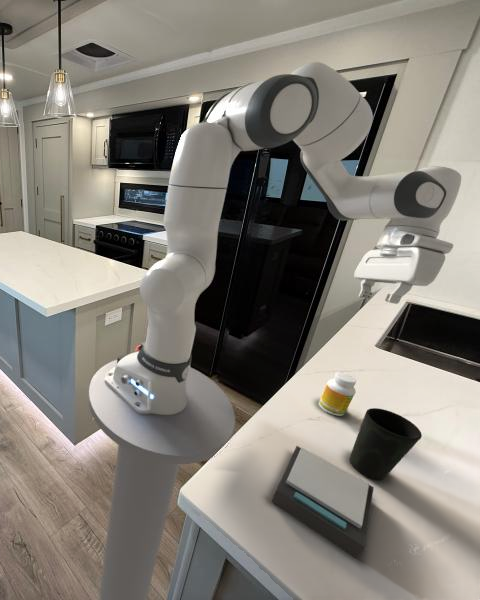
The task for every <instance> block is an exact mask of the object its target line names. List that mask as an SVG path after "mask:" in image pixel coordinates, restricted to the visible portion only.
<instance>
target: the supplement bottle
mask: <svg viewBox="0 0 480 600" xmlns="http://www.w3.org/2000/svg"><path fill="white" fill-rule="evenodd" d="M356 383H357V379H356V378H355V377H354V376H352V375H350V374H349V373H345V372H341V371H340V372H336V373H335V374H334V376H333V378H331V379H329V380H328V381H327V383H326V385H325V387H324V390H323V391H322V394H321V396H320V398H319V400H318V405H319V407H320V408H321V409H322V410H323V411H324V412H326V413H328V414H330V415H333V416H338V417H342V416H344V415H345V414H346V413H347V410H348V409H349V406H350V404H351V402H352V400H353V398H354V397H355V395H356V391H357V390H356V389H355V385H356Z"/></svg>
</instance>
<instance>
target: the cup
mask: <svg viewBox="0 0 480 600" xmlns="http://www.w3.org/2000/svg"><path fill="white" fill-rule="evenodd" d="M422 436H423V435H422V432H421V430H420V429H419V427H417V425H415V424H414V423H413V422H412V421H410V420H409V419H407V418H405V417H404V416H402V415H400V414H398V413H396V412H393V411H391V410H387V409H384V408H377V407H373V408H372V407H371V408H368V409H367V410H366V411H365V414H364V417H363V419H362V422H361V424H360V428H359V430H358V433H357V435H356V439H355V442H354V444H353V447H352V449H351V453H350V455H349V458H348V460H349V463H350V465H351V467H353V469H354V470H355V471H357V472H358V473H359V474H361V475H363V476H364V477H366V478H369V479H370V480H375V481H383V480H384V479H385V478H386V477H388V475H389V474H390V473H391V472H392V470H393V469H395V467H396V466H397V465H398V464H399V463H400V462H401V461H402V459H403V458H404V457H405V456H406V455H407V454H409V452H410V451H411V449H412V448H414V447H415V445H416V444H417V443H418V442H419V441H420V440H421V438H422Z"/></svg>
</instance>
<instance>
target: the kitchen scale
mask: <svg viewBox="0 0 480 600" xmlns="http://www.w3.org/2000/svg"><path fill="white" fill-rule="evenodd" d="M373 495H374V486H372V485H371V484H370V483H369V482H367V481H365V480H363V479H361V478H359V477H357V476H356V475H354V474H352V473H350V472H348V471H346V470H344V469H343V468H340V467H339V466H337V465H335V464H333V463H332V462H330V461H328V460H326V459H324V458H322V457H321V456H318V455H316V454H315V453H313V452H310V451H309V450H307V449H306V448H303V447H300V446H298V445H296V446H295V448H294V451H293V452H292V455H291V457H290V459H289V461H288V463H287V466H286V468H285V470H284V472H283V474H282V476H281V478H280V481H279V483H278V485H277V487H276V489H275V491H274V494H273V496H272V498H271V501H270V502H271V503H273V504H275V506H278V507H279V508H280V509H282V510H284V511H285V512H287V513H288V514H290V515H291V516H292V517H294V518H296V519H297V520H299V521H300V522H302V524H304V525H306V526H307V527H309V528H310V529H312V530H313V531H314V532H317V533H318V534H319V535H321V536H322V537H324V538H325V539H327V540H328V541H329V542H331V543H333V544H334V545H335V546H337V547H339V548H340V549H342V550H343V551H345V553H348V554H349V555H351V556H352V557H353V558H355V559H358V557H359V556H360V555H361V553H362V552H363V550H364V549H365V548H366V540H367V534H368V529H369V528H368V527H369V520H370V514H371V507H372V501H373Z"/></svg>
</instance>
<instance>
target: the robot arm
mask: <svg viewBox="0 0 480 600" xmlns="http://www.w3.org/2000/svg"><path fill="white" fill-rule="evenodd" d="M373 120H374V114H373V110H372V109H371V106H370V104H369V102H368V101H367V100H366V98H365V97H364V96H363V95H362V94H361V93H360V92H359V90H357V89H356V87H355V86H354V85H353V84H352V82H350V80H348V79H347V78H346V77H344V76H343V74H341V73H340V72H338V71H336V70H335V69H334V68H332V67H330V66H329V65H327V64H326V63H323V62H321V61H313V62H308V63H305V64H303V65H301V66H300V67H298V68H296V69H295V70H293V71H292V72H291V73H287V74H286V73H285V74H284V73H283V74H278V75H274V76H271V77H269V78H267V79H263V80H259V81H253V82H252V81H251V82H249V83H247V84H244V85H242V86H240V87H238V88H236V89H234V90H233V91H230V92H227V93H225V94H223V95H222V96H220V98H218V99H217V100H216V101H215V102H214V103H213V104H212V105H211V107H210V108H209V109H208V112H207V113H206V115H205V117H204V119H203V121H202V122H199V123H196V124H193V125H192V126H190V127H187V129H186V130H185V131H184V132H183V133H182V134H181V137H180V138H179V139H180V140H179V141H178V145H177V147H176V150H175V154H174V158H173V162H172V166H171V169H170V174H169V180H168V187H167V193H166V200H165V206H164V207H165V208H164V213H163V220H162V222H163V227H164V229H165V232H166V243H167V244H166V245H167V252H166V255H165V258H163V259H160V260H158V261H157V262H155V263H154V264H153V265H151V266H150V267H149V269H148V270H147V271H146V272H145V273H144V275H143V277H142V278H141V280H140V284H139V292H140V297H141V299H142V301H143V303H144V304H145V305H146V309H147V328H146V329H147V330H146V336H145V341H142V342H140V343H139V345H138V346H137V345H136V347H135V348H134V349H135V350H134V352H129V353H126V354H123V355H120V356H118V357H117V358H116V360H117V365H116V367H114V368H113V369H112V370H110V371H109V372H108V373H107V375H106V377H105V383H106V384H107V385H108V386H109V387H110V388H111V389H112V390H114V391H115V392H116V393H117V394H118V395H119V396H120V397H121V398H122V399H123V400H124V401H125V402H127V403H128V404H129V405H130V406H131V407H132V408H133V409H134V410H135V411H136V412H137V413H139V414H150V413H152V414H159V415H174V414H177V413H180V412H181V411H183V410H184V409H185V407H186V405H187V399H186V378H187V376H188V374H189V370H190V367H191V363H192V358H193V356H192V350H193V346H194V341H195V336H196V333H197V332H196V331H197V325H196V323H195V310H196V303H197V301H198V299H199V297H200V295H201V294H202V293H203V292H204V291H205V290H206V289H207V288H208V287H210V285H211V283H212V281H213V280H214V276H215V273H216V262H217V261H216V260H217V250H218V235H219V227H220V222H221V217H222V212H223V208H224V203H225V198H226V195H227V194H226V193H227V189H228V184H229V181H230V179H229V178H230V173H231V169H232V165H233V164H234V161H235V160H236V158H237V157H238V155H239V154H240V152H249V151H257V150H262V149H263V150H264V149H273V148H277V147H280V146H283V145H285V144H288V143H289V142H291V141H293V142H294V143H295V144H296V145H297V146H298V148H299V149H300V154H299V158H300V163H301V166H302V168H303V169H304V170H305V172H306V173H307V175H308V177H309V178H310V180H311V181H312V182H313V184H314V185H315V186H316V188H317V189H318V190H319V192H320V193H321V195H322V196H323V198H324V200H325V202H326V205H327V208H328V211H329V213H330V214H331V215H332V216H333V217H334V218H335V219H336V220H339V221H355V220H383V219H386V220H387V219H388V220H389V222H387V224H386V225H385V226H384V229H383V231H382V232H381V235H380V237H379V239H378V241H377V243H376V245H375V246H374V248H372V249H370V250H368V251H367V252H366V253H365V254H364V255H363V256H362V257H361V260H360V261H359V263H358V265H357V267H356V269H355V270H354V272H353V278H354V279H356V280H360V281H361V282H360V292H359V294H358V298H360V299H361V298H362V299H365V300H370V299H371V297H372V295H373V292H372V287H374V285H375V284H376V283H381V284H395V285H394V287H395V288H394V289H393V290H392V291H391V292H390V293H387V295H386V297H385V298H384V301H385V302H386V303H390V304H395V305H397V304H399V303H400V301H401V299H402V298H403V297H404V296H405V295H406V294H407V293H409V292H410V291H411V290H412V288H413V286H418V287H428V286H429V285H430V284H432V283H433V282H434V281H435V280H436V279H437V277H438V275H439V273H440V272H441V270H442V267H443V266H444V263H445V261H446V254H447V255H448V254H449V253H451V252H452V250H453V248H454V244H453V242H449V241H446V240H442V239H440V238H438V236H439V234H440V229H441V225H442V223H443V222H444V220H446V218H447V217H448V216H449V215H450V212H451V211H452V209H453V206H454V204H455V202H456V201H457V198H458V195H459V192H460V187H461V183H462V175H461V173H460V172H459V171H457V170H455V169H453V168H450V167H446V166H435V165H433V166H426V167H423V168H420V169H418V170H407V171H406V170H405V171H400V172H399V171H398V172H391V173H383V174H376V175H368V176H358V175H352V174H350V173H349V172H348V170H347V168H346V167H345V166H344V164H343V163H342V160H343V159H345V158H346V157H348V156H349V155H350V154H352V153H353V152H354V151H355V150H356V149H358V147H359V146H360V145H361V144H362V143H363V142H364V140H365V139H366V137H367V136H368V134H369V132H370V130H371V127H372V124H373Z"/></svg>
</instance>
